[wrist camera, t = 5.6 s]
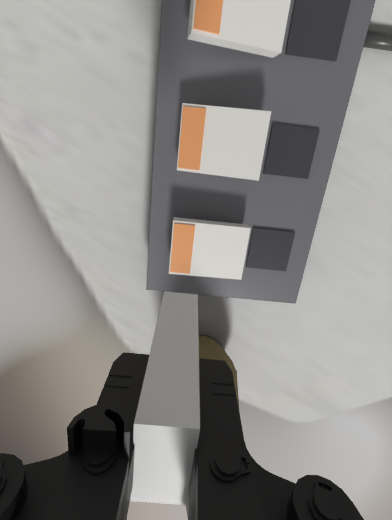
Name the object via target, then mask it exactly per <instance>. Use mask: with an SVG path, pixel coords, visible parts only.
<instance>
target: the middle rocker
mask: <svg viewBox="0 0 392 520" xmlns="http://www.w3.org/2000/svg"><path fill="white" fill-rule="evenodd" d="M270 116H271V111H263V110H252V109H241V108H230V107H219V106H208V105H197V104H186V103H182V112H181V124H180V137H179V149H178V161H177V170H178V171H186V172H194V173H202V174H210V175H217V176H225V177H233V178H241V179H249V180H257V181H259V177H260V172H261V166H262V161H263V155H264V150H265V144H266V139H267V133H268V128H269V122H270Z"/></svg>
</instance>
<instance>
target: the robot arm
mask: <svg viewBox="0 0 392 520" xmlns="http://www.w3.org/2000/svg"><path fill="white" fill-rule="evenodd" d="M234 385H235V384H234V378H233V372H232V370H231V369H230V367H229V366H228V365H227V363H226V362H225V361H224V360H213V359H202V358H199V335H198V295H196V294H186V293H176V292H166V291H164V294H163V298H162V303H161V307H160V312H159V316H158V320H157V325H156V329H155V333H154V338H153V342H152V347H151V351H150V355H146V354H134V353H123V354H121V355H120V356H119V357H118V358H117V359H116V360H115V361H114V362H113V365H112V367H111V369H110V372H109V375H108V377H107V380H106V382H105V385H104V388H103V390H102V392H101V395H100V397H99V400H98V402H97V405H95V406H93V407H90V408H87V409H85V410H84V411H82V412H81V413H80V414H78V415H77V416H75V417H74V418H73V420H72V421H71V423H70V424H69V426H68V427H67V435H68V451H67V452H65V453H63V454H61V455H60V456H57V457H54V458H51V459H47V460H44V461H40V462H35V463H31V464H27V465H23V463H22V460H20V459H19V458H17V457H16V456H15V455H11V454H3V453H1V454H0V520H126V519H127V513H128V507H129V502H130V501H137V502H153V503H167V504H181V505H188V502H189V512H188V520H364V519H363V518H362V516H361V515H360V513H359V512H358V510H357V508H356V507H355V505H354V504H353V502H352V501H351V500H350V499H349V497H348V496H347V495H346V494H345V493H344V491H343V490H342V489H341V488H339V487H338V486H337V485H335V484H334V483H333V482H332V481H330V480H328V479H326V478H323V477H321V476H318V475H306V476H304V477H302V478H301V479H298V481H297V483H296V484H295V483H293V482H290V481H288V480H286V479H283V478H281V477H279V476H276V475H274V474H272V473H270V472H268V471H266V470H265V469H263V468H262V467H261V466H260V465H258V464H257V463H256V462H255V460H254V459H253V458H252V457H251V456H250V454H249V452H248V450H247V448H246V445H245V442H244V437H243V432H242V425H241V420H240V414H239V408H238V402H237V398H236V390H235V387H234Z"/></svg>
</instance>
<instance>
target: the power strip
mask: <svg viewBox="0 0 392 520" xmlns="http://www.w3.org/2000/svg"><path fill="white" fill-rule="evenodd" d="M190 3H191V0H162V11H161V29H160V48H159V66H158V84H157V103H156V121H155V139H154V158H153V176H152V194H151V213H150V231H149V249H148V268H147V286H146V290H156V291H166V292H177V293H188V294H199V295H210V296H220V297H231V298H242V299H253V300H263V301H274V302H285V303H296V300H297V296H298V292H299V288H300V284H301V281H302V277H303V273H304V269H305V265H306V262H307V258H308V254H309V250H310V246H311V243H312V239H313V235H314V231H315V228H316V224H317V220H318V216H319V212H320V209H321V205H322V201H323V197H324V193H325V190H326V186H327V182H328V178H329V174H330V171H331V167H332V163H333V159H334V156H335V152H336V148H337V144H338V140H339V137H340V133H341V129H342V125H343V121H344V118H345V114H346V110H347V106H348V102H349V99H350V95H351V91H352V87H353V84H354V80H355V76H356V72H357V68H358V65H359V61H360V57H361V53H362V49H363V47H367V48H374V49H382V50H389V51H392V34H387V33H380V32H373V31H367V30H368V27H369V23H370V19H371V15H372V12H373V8H374V4H375V0H291V2H290V8H289V13H288V19H287V25H286V30H285V36H284V41H283V47H282V52H281V53H280V54H278V55H277V56H275V57H273V58H271V57H267V56H262V55H257V54H253V53H248V52H244V51H239V50H234V49H230V48H225V47H221V46H216V45H211V44H207V43H202V42H198V41H193V40H189V39H188V27H189V15H190ZM182 103H186V104H197V105H208V106H219V107H230V108H241V109H252V110H263V111H271V116H270V122H269V128H268V133H267V139H266V144H265V150H264V155H263V161H262V166H261V172H260V177H259V181H257V180H249V179H241V178H233V177H225V176H217V175H210V174H202V173H194V172H186V171H178V170H177V161H178V149H179V137H180V124H181V112H182ZM174 217H178V218H188V219H198V220H207V221H217V222H227V223H237V224H247V225H248V226H249V227H250V228H251V230H250V235H249V241H248V246H247V252H246V257H245V263H244V268H243V274H242V279H241V280H237V279H226V278H214V277H202V276H190V275H178V274H169V264H170V252H171V240H172V228H173V218H174Z"/></svg>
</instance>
